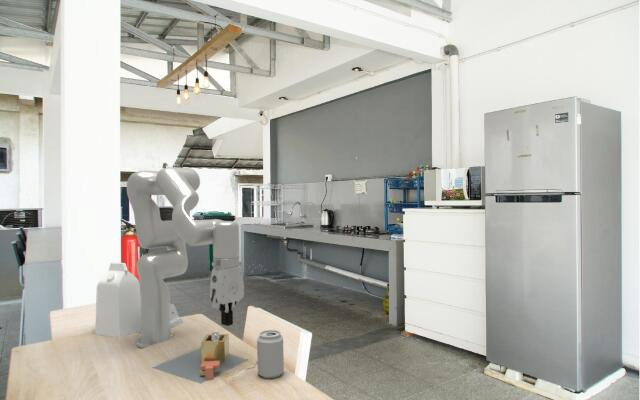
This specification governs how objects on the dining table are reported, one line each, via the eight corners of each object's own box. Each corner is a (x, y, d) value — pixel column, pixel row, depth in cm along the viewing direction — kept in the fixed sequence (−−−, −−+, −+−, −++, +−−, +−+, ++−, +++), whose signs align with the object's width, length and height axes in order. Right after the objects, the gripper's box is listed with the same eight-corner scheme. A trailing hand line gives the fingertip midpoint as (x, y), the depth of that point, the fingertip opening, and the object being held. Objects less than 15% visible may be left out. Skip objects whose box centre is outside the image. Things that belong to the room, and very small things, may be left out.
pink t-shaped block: (202, 377, 124) (201, 361, 124) (220, 376, 125) (220, 360, 124) (199, 385, 119) (199, 368, 119) (218, 384, 120) (218, 367, 119)
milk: (143, 328, 170) (141, 261, 169) (120, 337, 159) (118, 266, 158) (119, 325, 174) (117, 260, 173) (95, 334, 163) (93, 264, 163)
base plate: (152, 372, 128) (152, 367, 128) (201, 351, 144) (201, 347, 144) (200, 388, 117) (200, 383, 117) (248, 364, 133) (248, 359, 133)
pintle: (210, 361, 136) (209, 333, 136) (215, 358, 138) (215, 331, 138) (215, 362, 135) (215, 335, 134) (221, 360, 137) (220, 333, 136)
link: (206, 353, 139) (206, 334, 138) (229, 352, 139) (228, 333, 139) (192, 376, 121) (191, 355, 121) (217, 376, 121) (217, 354, 121)
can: (287, 370, 128) (287, 329, 128) (277, 381, 121) (276, 338, 121) (264, 367, 131) (264, 327, 130) (252, 377, 124) (252, 335, 123)
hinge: (158, 335, 161) (149, 309, 162) (147, 338, 162) (139, 312, 163) (183, 322, 177) (176, 298, 178) (174, 325, 178) (166, 301, 179)
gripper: (216, 268, 121) (217, 333, 122) (252, 260, 134) (253, 320, 134) (197, 265, 125) (198, 329, 126) (234, 258, 138) (235, 316, 138)
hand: (227, 324), depth 130 cm, fingers closed
